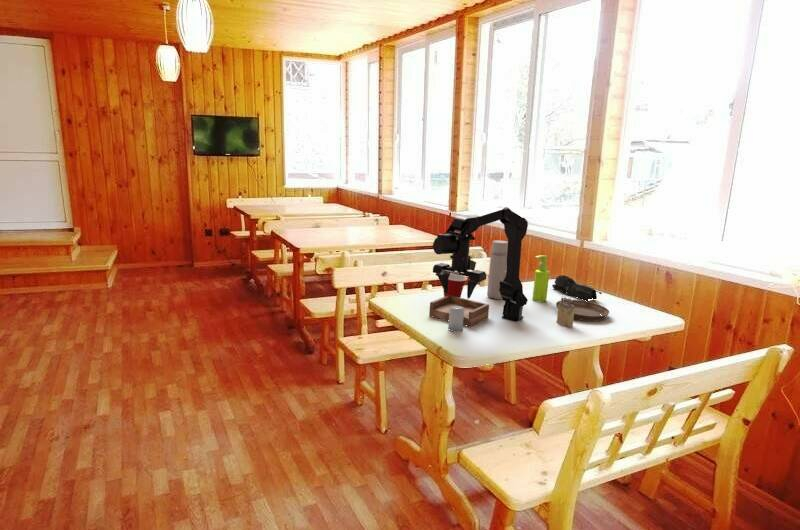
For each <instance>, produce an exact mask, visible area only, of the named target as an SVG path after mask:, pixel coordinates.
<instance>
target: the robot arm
mask: <svg viewBox="0 0 800 530" xmlns="http://www.w3.org/2000/svg"><path fill="white" fill-rule="evenodd" d="M498 221H499V222H500V223H501V224H502V225H503V227H504V228H503V229H504V233H505V236H506V239H507V242H508V249H507V264H506V274H505V278H504V280H503V281H500V288H499V291H500V295H501V297H502V298H501V300H502V301H503V302H504V304H503V307H502V316H501V318H502V319H506V320H510V321H514V322H518V321H520V320H522V319H523V318H524V316H523V308H524V306H526V305H527V303H528V301H529V300H528V298H527V297H526V295H525V294H524V290H523V288H524V287H523V284H522V281H521V279H520V271H521V270H520V266H521V255H522V254H521V253H522V241H523V239H524V238H525V236H526V235H527V233H528V232H527V231H528V226H529V223H528V220H527V218H525V217H523V216H521V215H519V214H517V213H516V212H514V211H513V210H511V209H510V208H509V207H507V206H502V205H500V206H497V207H495V208H491V209H489V210H486V211H482V212H479V213H476V214H471V215H470V214H465V215H462V214H461V215H457V216H455V217H454V218H453V220H452V222H451V223H450V225H449V226H448V228H447V229H446V231H445V232H444V234H442V233H438V234H437V237H436V238H435V239H434V240H433V242H432V249H433V252H434V253H435V254H436V255H447V254H449V255H450V256H449V258H450V259H451V265H450V264H448V263H444V262H440V263H436V264H434V266H432V274H433V273H434V274H435V276H437V278H438V280H439V282H440V284H441V287H442V290H443V289H444V291H443V293H444V292H445V293H447V292H448V278H449V275H450V273H452V274H458V275H462V276H465V277H466V278H467V277H468V279H469V280H467V289H466V291H467V292H466V293H467V294H466V297H467V298H466V299H468V300H470V299H471V297H472V295H473V292H474V290H475V288H476V286H477V285H478V284H479V283H481V282H483V281H486V280H487V273H486V271H484V270H478V269H476V265H477V261H474V260H473V259H471V258H472V257H471V255H470V245H471V241H474V240H476V237H475V236H474V235H473V233H475V232H476V231H477V230H478V229H479V228H481V227H482V226H486V225H488V224H491V223H494V222H498ZM475 269H476V270H475Z"/></svg>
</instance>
